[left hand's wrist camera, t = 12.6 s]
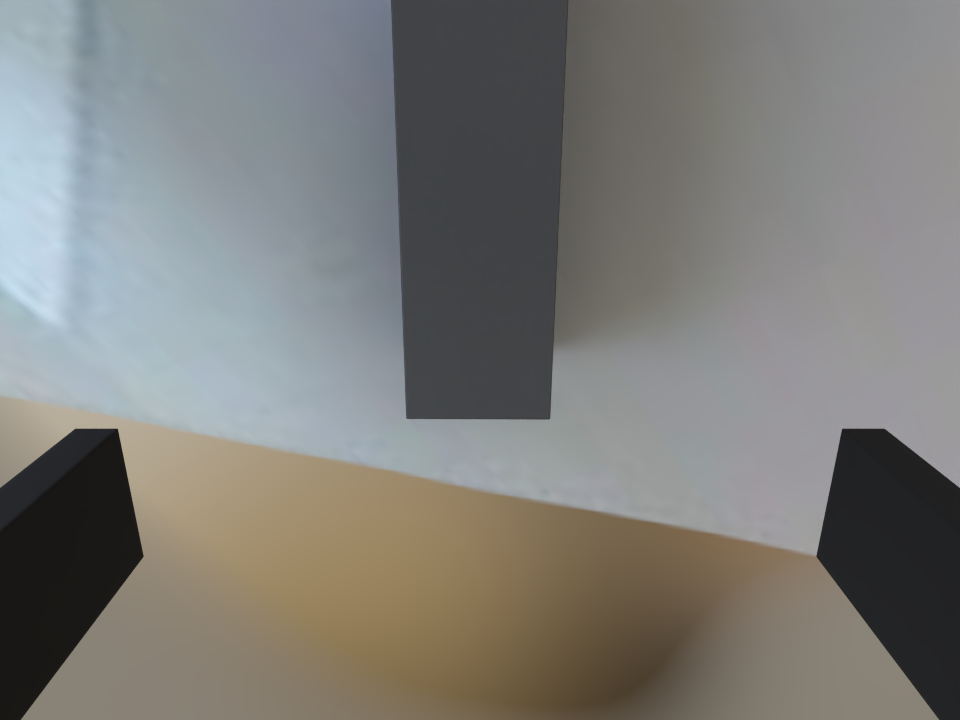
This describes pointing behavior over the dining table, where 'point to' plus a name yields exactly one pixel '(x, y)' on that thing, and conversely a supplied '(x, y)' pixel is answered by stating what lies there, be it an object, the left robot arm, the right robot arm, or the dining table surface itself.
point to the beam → (478, 202)
